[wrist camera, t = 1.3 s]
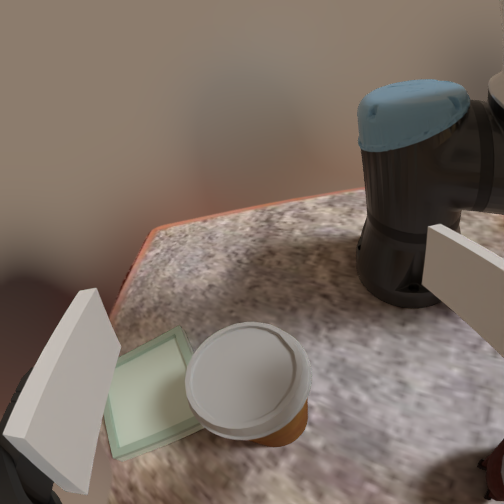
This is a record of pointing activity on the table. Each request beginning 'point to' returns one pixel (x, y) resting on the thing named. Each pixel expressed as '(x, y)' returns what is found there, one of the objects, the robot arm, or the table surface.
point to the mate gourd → (494, 473)
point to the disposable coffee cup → (250, 384)
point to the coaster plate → (150, 397)
